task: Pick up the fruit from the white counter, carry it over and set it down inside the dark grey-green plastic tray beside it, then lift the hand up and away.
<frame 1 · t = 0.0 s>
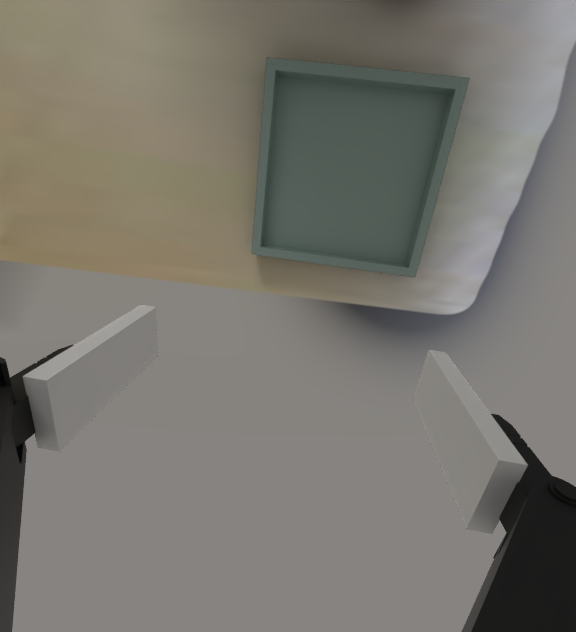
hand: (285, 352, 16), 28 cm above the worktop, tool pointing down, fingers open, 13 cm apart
tray: (346, 177, 38), on the worktop
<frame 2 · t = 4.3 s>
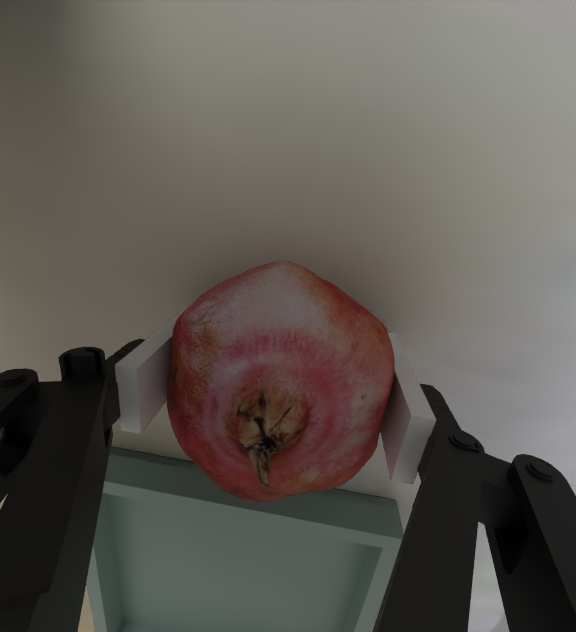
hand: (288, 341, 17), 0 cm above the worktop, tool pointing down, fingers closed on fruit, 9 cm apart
tray: (232, 568, 25), on the worktop
fruit: (291, 336, 17), on the worktop, touching gripper
when the fingers open (3 cm above the worktop, at t = 11.3 s): fruit drops 2 cm, resting on tray.
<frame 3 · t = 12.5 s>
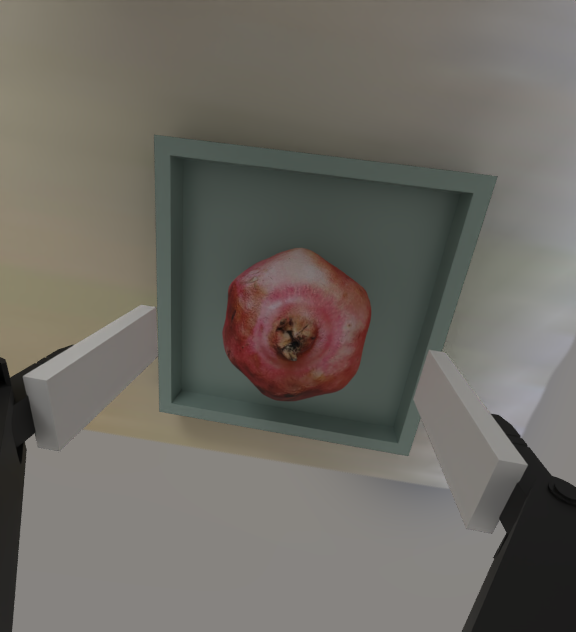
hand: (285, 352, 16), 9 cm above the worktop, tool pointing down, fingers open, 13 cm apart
tray: (300, 304, 25), on the worktop
fruit: (302, 306, 24), resting on tray
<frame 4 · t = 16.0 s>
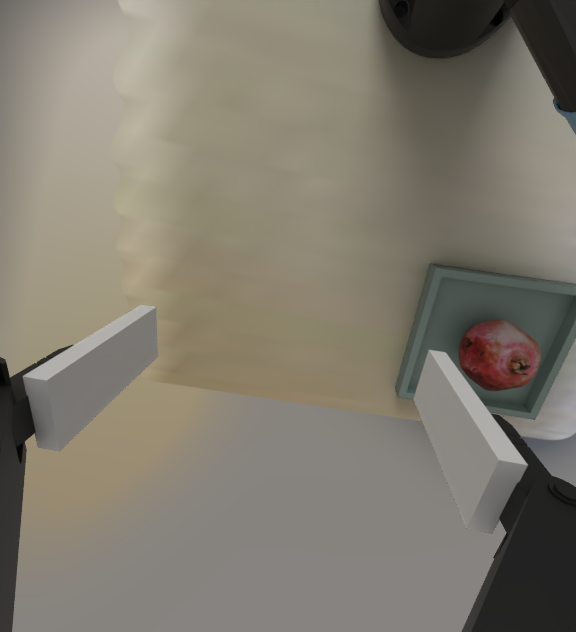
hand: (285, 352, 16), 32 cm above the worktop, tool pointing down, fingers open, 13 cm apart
tray: (480, 341, 47), on the worktop
fruit: (483, 342, 47), resting on tray
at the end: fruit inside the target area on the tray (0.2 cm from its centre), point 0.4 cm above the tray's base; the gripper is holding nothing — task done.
